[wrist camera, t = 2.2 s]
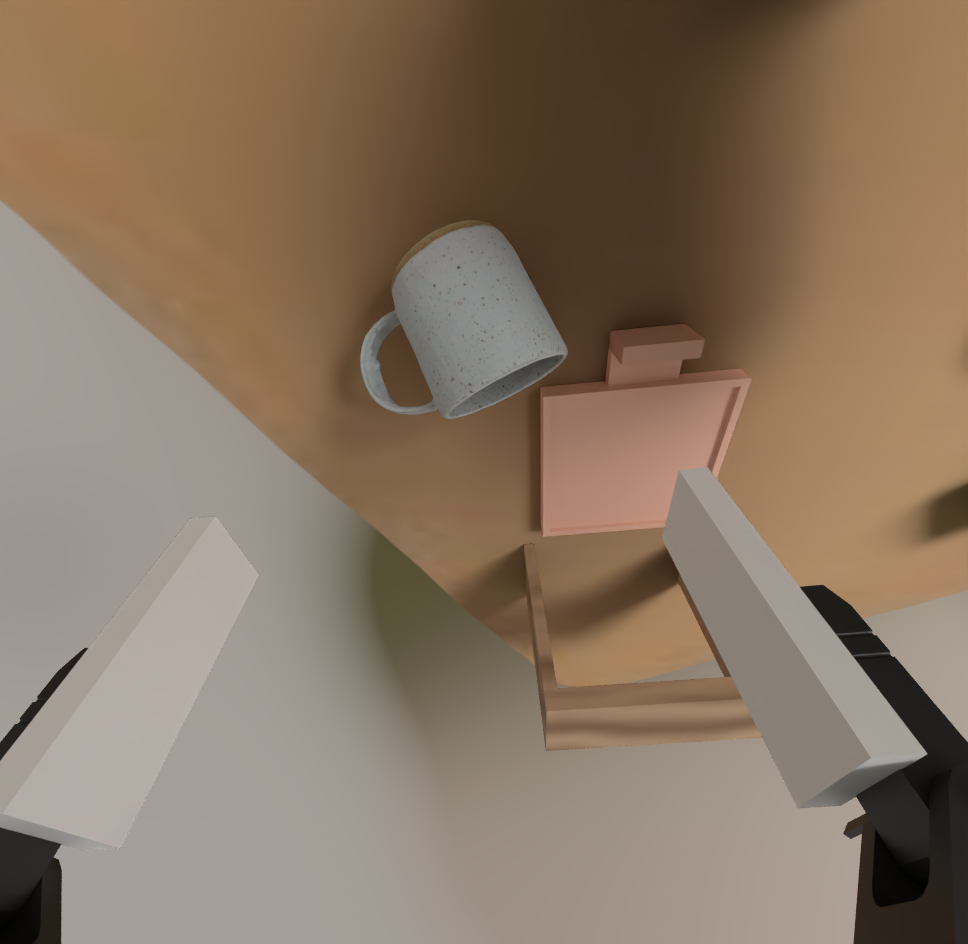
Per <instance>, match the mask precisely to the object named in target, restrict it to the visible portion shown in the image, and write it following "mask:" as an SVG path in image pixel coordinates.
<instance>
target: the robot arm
mask: <svg viewBox="0 0 968 944" xmlns="http://www.w3.org/2000/svg"><path fill="white" fill-rule="evenodd" d="M662 540H663V542H664V544H665V546H666V548H667V550H668V552H669V554H670V556H671V558H672V560H673V562H674V564H675V566H676V568H677V569H678V571H679V573H680V575H681V577H682V579H683V581H684V583H685V585H686V587H687V589H688V591H689V593H690V595H691V597H692V599H693V601H694V603H695V605H696V607H697V609H698V611H699V613H700V615H701V617H702V619H703V621H704V623H705V625H706V627H707V629H708V631H709V633H710V635H711V637H712V639H713V641H714V643H715V645H716V647H717V649H718V651H719V653H720V655H721V657H722V659H723V661H724V663H725V665H726V667H727V669H728V671H729V673H730V675H731V677H732V679H733V681H734V683H735V685H736V687H737V689H738V691H739V693H740V695H741V697H742V699H743V701H744V703H745V705H746V707H747V709H748V711H749V713H750V715H751V717H752V719H753V721H754V723H755V725H756V727H757V729H758V731H759V733H760V734H761V736H762V738H763V740H764V742H765V744H766V746H767V748H768V750H769V752H770V754H771V756H772V758H773V760H774V762H775V764H776V766H777V768H778V770H779V772H780V774H781V776H782V778H783V780H784V782H785V784H786V786H787V788H788V790H789V792H790V794H791V796H792V798H793V800H794V802H795V804H796V806H797V808H810V807H826V806H841V805H842V804H844V803H846V802H848V801H849V800H851V799H853V798H854V797H857V799H858V800H859V802H860V804H861V805H862V807H863V808H864V810H865V812H866V814H864V815H862V816H860V817H858V818H856V819H854V820H852V821H850V822H848V824H847V826H846V829H845V831H844V835H846V836H847V837H849V838H850V839H852V838H854V837H856V836H858V835H860V834H862V842H861V855H860V867H859V868H860V869H859V880H858V893H857V894H858V895H857V906H856V920H855V932H854V944H968V742H967V741H966V740H965V739H964V738H963V737H962V735H961V734H960V733H959V732H958V731H957V729H956V728H955V727H954V726H953V725H952V724H951V722H950V721H949V720H948V719H947V718H946V716H945V715H944V714H943V713H942V712H941V711H940V709H939V708H938V707H937V706H936V705H935V704H934V703H933V701H932V700H931V699H930V698H929V697H928V695H927V694H926V693H925V692H924V691H923V689H922V688H921V687H920V686H919V685H918V684H917V682H916V681H915V680H914V679H913V678H912V677H911V675H910V674H909V673H908V672H907V671H906V669H905V668H904V667H903V666H902V665H901V664H900V662H899V661H898V660H897V659H896V658H895V657H892V656H891V655H890V651H889V649H888V648H887V647H886V646H885V645H884V644H883V643H882V641H881V640H880V639H879V638H878V637H877V636H876V635H873V633H872V630H871V629H870V627H869V626H868V625H867V624H866V622H865V621H864V620H863V619H862V618H861V617H860V615H859V614H858V613H857V612H856V611H855V610H854V608H853V607H852V606H851V605H850V604H848V603H847V602H846V601H844V600H843V599H842V598H840V597H839V596H837V595H836V594H835V593H833V592H832V591H831V590H829V589H828V588H826V587H825V586H824V585H816V586H804V587H799V586H798V584H797V583H796V582H795V580H794V579H793V578H792V577H791V575H790V574H789V573H788V571H787V570H786V569H785V567H784V566H783V565H782V564H781V562H780V561H779V560H778V558H777V557H776V556H775V554H774V553H773V552H772V551H771V549H770V548H769V547H768V545H767V544H766V543H765V541H764V540H763V539H762V538H761V536H760V535H759V534H758V532H757V531H756V530H755V528H754V527H753V526H752V524H751V523H750V522H749V521H748V519H747V518H746V517H745V515H744V514H743V513H742V511H741V510H740V509H739V508H738V506H737V505H736V504H735V502H734V501H733V500H732V498H731V497H730V496H729V495H728V493H727V492H726V491H725V489H724V488H723V487H722V485H721V484H720V483H719V481H718V480H717V479H716V478H715V476H714V475H713V474H712V472H711V471H710V470H709V468H708V467H704V468H694V469H684V470H679V471H678V475H677V479H676V483H675V487H674V492H673V496H672V500H671V504H670V508H669V512H668V516H667V520H666V524H665V528H664V532H663V536H662ZM258 577H259V574H258V573H257V572H256V570H255V569H254V568H253V566H252V565H251V563H250V562H249V561H248V559H247V558H246V557H245V555H244V554H243V553H242V551H241V550H240V549H239V547H238V546H237V544H236V543H235V542H234V541H233V539H232V538H231V536H230V535H229V534H228V532H227V531H226V529H225V528H224V527H223V525H222V524H221V523H220V521H219V520H218V519H217V517H216V516H210V517H199V518H190V519H189V521H188V522H187V523H186V524H185V526H184V527H183V528H182V529H181V531H180V532H179V533H178V535H177V536H176V537H175V538H174V540H173V541H172V542H171V543H170V545H169V546H168V547H167V549H166V550H165V551H164V552H163V554H162V555H161V556H160V557H159V559H158V560H157V561H156V563H155V564H154V565H153V567H152V568H151V569H150V570H149V572H148V573H147V574H146V575H145V577H144V578H143V579H142V580H141V582H140V583H139V584H138V586H137V587H136V588H135V589H134V591H133V592H132V593H131V595H130V596H129V597H128V598H127V600H126V601H125V602H124V603H123V605H122V606H121V607H120V609H119V610H118V611H117V613H116V614H115V615H114V616H113V618H112V619H111V620H110V621H109V623H108V624H107V625H106V627H105V628H104V629H103V630H102V632H101V633H100V634H99V635H98V637H97V638H96V639H95V641H94V642H93V643H92V644H91V646H90V647H89V648H84V649H83V650H82V651H80V652H79V653H78V654H77V655H76V656H75V657H74V658H72V659H71V660H70V661H69V662H68V663H67V664H66V665H65V666H64V667H62V668H61V669H60V670H59V671H58V672H57V673H56V674H55V675H54V677H53V678H52V679H51V680H50V682H49V683H48V684H47V685H46V687H45V688H44V689H43V690H42V691H41V693H40V694H39V695H38V696H37V697H38V700H37V701H36V702H33V703H32V704H31V705H30V707H29V708H28V709H27V710H26V711H25V713H24V714H23V715H22V716H21V718H20V722H19V723H18V724H15V725H14V726H13V727H12V729H11V730H10V731H9V732H8V734H7V735H6V736H5V738H4V739H3V740H2V741H1V742H0V944H61V882H62V870H61V866H60V863H59V860H58V859H56V858H54V855H55V854H56V852H57V850H58V849H59V847H60V845H65V846H69V847H73V848H76V849H80V850H99V849H117V848H121V846H122V844H123V842H124V840H125V838H126V836H127V834H128V832H129V830H130V828H131V826H132V824H133V822H134V820H135V818H136V816H137V814H138V812H139V810H140V808H141V806H142V804H143V802H144V800H145V798H146V796H147V794H148V793H149V791H150V789H151V786H152V785H153V783H154V781H155V779H156V777H157V775H158V773H159V771H160V769H161V767H162V765H163V763H164V760H165V759H166V757H167V755H168V753H169V751H170V749H171V747H172V745H173V743H174V741H175V740H176V737H177V736H178V734H179V732H180V730H181V728H182V726H183V724H184V722H185V720H186V718H187V716H188V714H189V712H190V710H191V708H192V706H193V704H194V702H195V700H196V698H197V696H198V694H199V692H200V690H201V689H202V687H203V684H204V682H205V680H206V679H207V677H208V675H209V673H210V671H211V669H212V667H213V665H214V663H215V661H216V659H217V657H218V655H219V653H220V651H221V649H222V647H223V645H224V643H225V641H226V639H227V637H228V636H229V634H230V631H231V630H232V628H233V626H234V624H235V622H236V620H237V618H238V616H239V614H240V612H241V610H242V608H243V606H244V604H245V602H246V600H247V598H248V596H249V594H250V592H251V590H252V588H253V586H254V584H255V582H256V581H257V579H258Z"/></svg>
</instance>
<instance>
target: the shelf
mask: <svg viewBox="0 0 968 944" xmlns="http://www.w3.org/2000/svg"><path fill="white" fill-rule="evenodd" d="M524 559H525V583H526V597H527V605H528V613H529V621H530V629H531V636H532V644H533V652H534V660H535V668H536V676H537V684H538V692H539V700H540V707H541V716H542V724H543V731H544V739H545V748H546V751H551V750H568V749H585V748H602V747H618V746H634V745H651V744H668V743H684V742H701V741H717V740H734V739H750V738H762V736H761V734H760V733H759V731H758V729H757V727H756V725H755V723H754V721H753V719H752V717H751V715H750V713H749V711H748V709H747V707H746V705H745V703H744V701H743V699H742V697H741V695H740V693H739V691H738V689H737V687H736V685H735V683H734V681H733V679H732V677H731V675H730V673H729V671H728V669H727V667H726V665H725V663H724V661H723V659H722V657H721V655H720V653H719V651H718V649H717V647H716V645H715V643H714V641H713V639H712V637H711V635H710V633H709V631H708V629H707V627H706V625H705V623H704V621H703V619H702V617H701V615H700V613H699V611H698V609H697V607H696V605H695V603H694V601H693V599H692V597H691V595H690V593H689V591H688V589H687V587H686V585H685V583H684V581H683V579H682V577H681V575H680V574H679V577H678V580H677V581H678V583H679V585H680V587H681V589H682V591H683V593H684V595H685V597H686V599H687V601H688V603H689V605H690V607H691V609H692V611H693V613H694V615H695V618H696V620H697V622H698V624H699V626H700V628H701V630H702V632H703V634H704V636H705V638H706V640H707V642H708V644H709V646H710V648H711V650H712V652H713V654H714V656H715V658H716V660H717V662H718V665H719V667H720V669H721V670H722V673H723V675H724V677H720V678H705V679H690V680H675V681H660V682H644V683H629V684H614V685H599V686H584V687H569V688H557V685H556V678H555V672H554V666H553V659H552V653H551V647H550V641H549V635H548V629H547V622H546V616H545V610H544V604H543V598H542V591H541V585H540V579H539V573H538V567H537V561H536V554H535V548H534V544H525V545H524Z"/></svg>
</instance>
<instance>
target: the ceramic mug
mask: <svg viewBox="0 0 968 944" xmlns="http://www.w3.org/2000/svg"><path fill="white" fill-rule="evenodd" d="M391 291H392V296H393V301H394V305H395V310H394V311H393V312H389V313H388V314H386V315H385V316H383V317H381V318H380V320H379V321H377V322H376V323H375V324H374V325H373V326H372V328H371V329H370V331H369V332H368V333H367V335H366V336H365V338H364V341H363V344H362V348H361V354H360V368H361V374H362V378H363V381H364V383H365V386H366V388H367V390H368V392H369V394H370V395H371V397H372V398H373V400H374V401H375V402H376V403H377V404H379V405H380V406H381V407H383V408H384V409H386V410H389V411H392V412H394V413H398V414H409V415H417V414H425V413H429V412H434V411H437V410H439V412H440V414H441V416H442V417H443V418H445V419H455V418H459V417H463V416H466V415H469V414H472V413H475V412H477V411H479V410H481V409H484V408H486V407H489V406H492V405H494V404H496V403H498V402H500V401H502V400H504V399H506V398H509V397H510V396H512V395H514V394H516V393H518V392H520V391H521V390H523V389H525V388H527V387H529V386H530V385H532V384H534V383H535V382H537V381H539V380H540V379H542V378H543V377H545V376H546V375H547V374H549V373H550V372H552V371H553V370H554V369H555V368H557V367H558V366H559V365H560V364H561V363H562V362H563V361H564V359H565V358H566V356H567V354H568V350H567V347H566V345H565V343H564V341H563V339H562V337H561V336H560V334H559V332H558V330H557V328H556V327H555V325H554V323H553V321H552V319H551V317H550V315H549V313H548V311H547V310H546V308H545V306H544V304H543V302H542V300H541V299H540V297H539V295H538V293H537V291H536V289H535V287H534V286H533V284H532V282H531V280H530V278H529V276H528V274H527V273H526V271H525V269H524V267H523V265H522V263H521V261H520V259H519V257H518V255H517V253H516V251H515V250H514V248H513V247H512V245H511V244H510V243H509V241H508V240H507V239H506V238H505V236H504V235H503V234H502V233H501V231H500V230H498V229H497V228H496V227H494V226H493V225H492V224H489V223H487V222H484V221H475V220H464V221H460V222H456V223H452V224H449V225H446V226H444V227H442V228H439V229H437V230H435V231H433V232H432V233H430V234H428V235H427V236H425V237H424V238H423V239H421V240H420V241H419V242H417V243H416V244H415V245H414V246H413V247H412V248H410V249H409V251H408V252H407V253H406V254H405V255H404V256H403V258H402V259H401V261H400V263H399V264H398V266H397V267H396V269H395V272H394V275H393V279H392V282H391ZM400 324H401V325H402V327H403V330H404V332H405V334H406V336H407V338H408V340H409V342H410V344H411V346H412V349H413V351H414V353H415V355H416V357H417V360H418V362H419V365H420V368H421V370H422V373H423V375H424V377H425V379H426V382H427V384H428V386H429V389H430V391H431V394H432V396H433V400H432V401H431V402H430V403H428V404H426V405H423V406H412V407H402V406H399V405H397V404H396V403H394V401H393V400H392V399H391V398H390V396H389V394H388V392H387V389H386V386H385V383H384V381H383V379H382V375H381V371H380V367H381V364H380V363H379V361H378V360H377V354H378V351H379V348H380V346H381V344H382V342H383V340H384V339H385V338H386V337H387V336H388V334H389V333H390V332H391V331H393V330H394V329H395V328H396V327H397V326H399V325H400Z"/></svg>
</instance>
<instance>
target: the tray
mask: <svg viewBox="0 0 968 944" xmlns="http://www.w3.org/2000/svg"><path fill="white" fill-rule="evenodd" d="M704 343H705V339H704V338H703V337H702V336H700V335H699V334H698V333H696V332H695V331H694V330H693V329H691V328H690V327H689V326H687V325H686V324H676V325H666V326H656V327H645V328H635V329H625V330H615V331H611V332H610V341H609V350H608V360H607V369H606V379H605V381H600V382H589V383H578V384H568V385H557V386H546V387H540V475H541V529H542V534H543V537H548V536H560V535H573V534H585V533H598V532H610V531H623V530H635V529H648V528H660V527H665V524H666V520H667V516H668V512H669V508H670V504H671V500H672V496H673V492H674V487H675V483H676V479H677V475H678V471H679V470H684V469H694V468H704V467H708V468H709V470H710V471H711V472H712V474H713V475H714V476H715V478H716V479H717V477H718V474H719V472H720V469H721V466H722V463H723V460H724V457H725V454H726V452H727V449H728V446H729V443H730V440H731V437H732V435H733V432H734V429H735V426H736V423H737V420H738V418H739V415H740V412H741V409H742V406H743V403H744V400H745V398H746V395H747V392H748V389H749V386H750V383H751V381H752V377H751V376H749V375H748V374H747V373H746V372H744V371H743V370H742V369H740V368H739V369H728V370H718V371H707V372H696V373H685V374H680V369H681V365H682V360H685V359H695V358H701V354H702V351H703V347H704Z"/></svg>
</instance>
